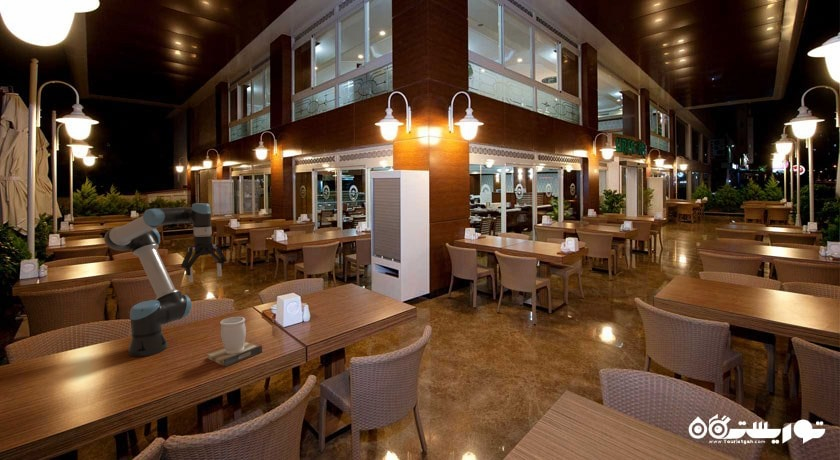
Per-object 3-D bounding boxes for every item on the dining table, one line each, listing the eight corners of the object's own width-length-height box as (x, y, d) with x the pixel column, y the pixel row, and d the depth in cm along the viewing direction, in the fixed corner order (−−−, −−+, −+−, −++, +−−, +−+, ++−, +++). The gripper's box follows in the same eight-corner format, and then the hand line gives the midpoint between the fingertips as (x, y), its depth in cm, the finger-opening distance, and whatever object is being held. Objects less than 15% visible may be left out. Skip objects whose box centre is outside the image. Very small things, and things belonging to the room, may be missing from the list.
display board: (207, 358, 172) (207, 351, 171) (243, 344, 187) (243, 338, 186) (225, 366, 163) (225, 360, 163) (262, 352, 178) (262, 345, 178)
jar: (251, 347, 179) (250, 317, 178) (236, 356, 169) (235, 324, 168) (232, 345, 181) (230, 315, 180) (216, 354, 171) (214, 323, 170)
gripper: (178, 239, 165) (181, 285, 167) (232, 233, 186) (234, 274, 188) (170, 237, 169) (173, 283, 171) (224, 232, 190) (226, 273, 192)
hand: (205, 279), depth 180 cm, fingers open, 13 cm apart
